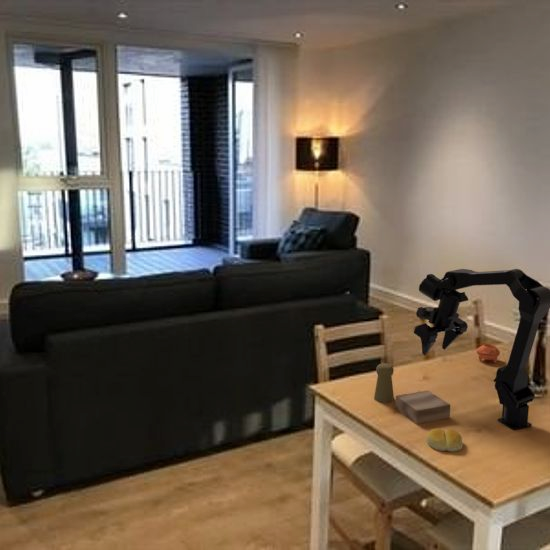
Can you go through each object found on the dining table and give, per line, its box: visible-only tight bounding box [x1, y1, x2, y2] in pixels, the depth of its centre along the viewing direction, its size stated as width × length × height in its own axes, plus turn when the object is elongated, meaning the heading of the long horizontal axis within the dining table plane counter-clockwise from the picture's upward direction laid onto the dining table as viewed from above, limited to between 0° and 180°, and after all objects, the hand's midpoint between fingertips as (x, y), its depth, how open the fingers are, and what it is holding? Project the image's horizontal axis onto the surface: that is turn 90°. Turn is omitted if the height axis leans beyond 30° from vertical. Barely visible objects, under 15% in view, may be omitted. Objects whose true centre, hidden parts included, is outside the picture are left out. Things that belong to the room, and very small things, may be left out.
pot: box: [476, 343, 501, 364], centre depth 214 cm, size 8×8×7 cm
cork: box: [373, 362, 395, 404], centre depth 181 cm, size 6×6×11 cm
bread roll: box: [426, 427, 463, 452], centre depth 153 cm, size 8×9×4 cm
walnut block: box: [395, 390, 451, 425], centre depth 172 cm, size 11×11×4 cm
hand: (433, 351), depth 185 cm, fingers open, 9 cm apart
